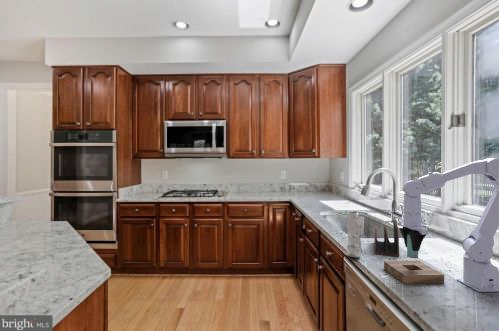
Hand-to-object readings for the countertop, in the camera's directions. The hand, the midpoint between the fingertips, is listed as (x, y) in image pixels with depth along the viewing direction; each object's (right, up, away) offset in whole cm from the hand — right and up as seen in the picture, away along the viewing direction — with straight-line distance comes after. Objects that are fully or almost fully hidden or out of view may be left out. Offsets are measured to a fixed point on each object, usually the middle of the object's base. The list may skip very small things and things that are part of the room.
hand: (412, 248), depth 103 cm
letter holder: (+5, -10, +31) cm, 33 cm away
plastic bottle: (-14, -10, +20) cm, 27 cm away
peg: (0, -3, 0) cm, 3 cm away
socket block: (0, -10, 0) cm, 10 cm away
